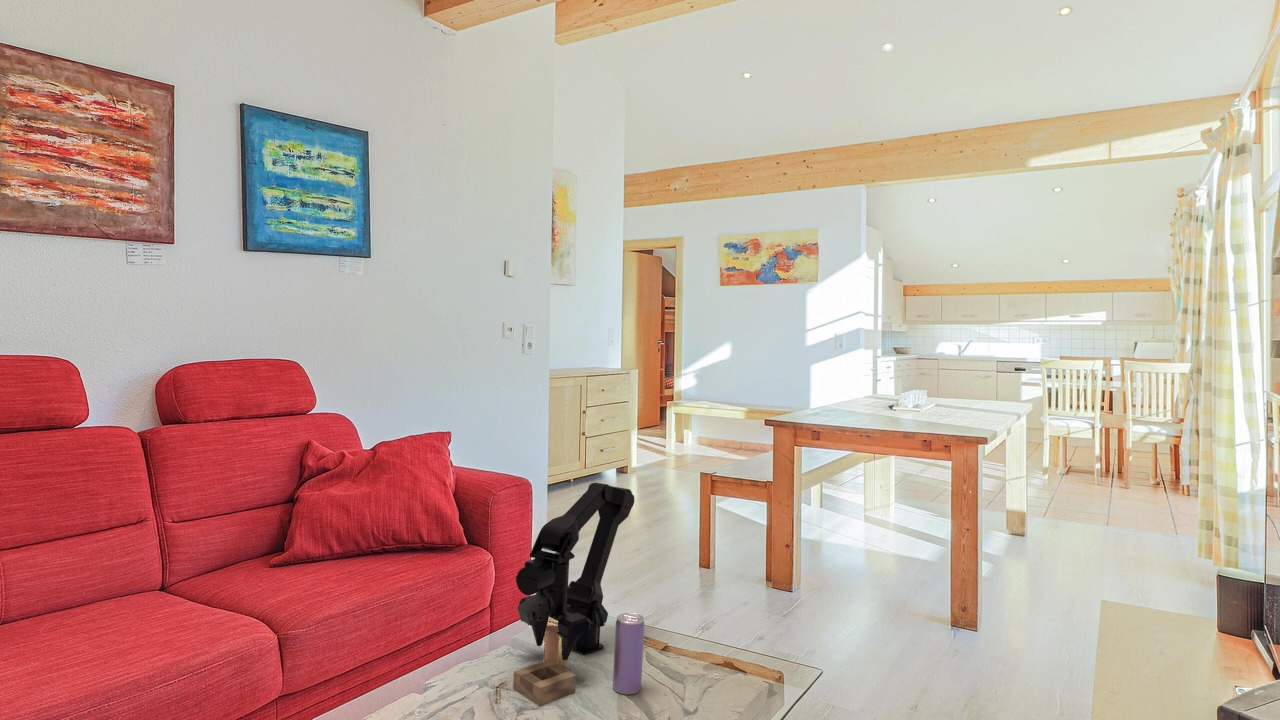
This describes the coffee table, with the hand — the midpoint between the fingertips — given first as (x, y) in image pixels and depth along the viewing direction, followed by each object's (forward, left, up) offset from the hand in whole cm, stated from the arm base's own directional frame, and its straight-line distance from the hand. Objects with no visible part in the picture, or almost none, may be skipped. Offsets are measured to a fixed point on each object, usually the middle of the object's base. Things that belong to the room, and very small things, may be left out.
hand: (551, 652), depth 159 cm
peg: (0, 0, -4) cm, 4 cm away
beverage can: (-7, +17, -4) cm, 19 cm away
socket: (+7, +7, -4) cm, 11 cm away
